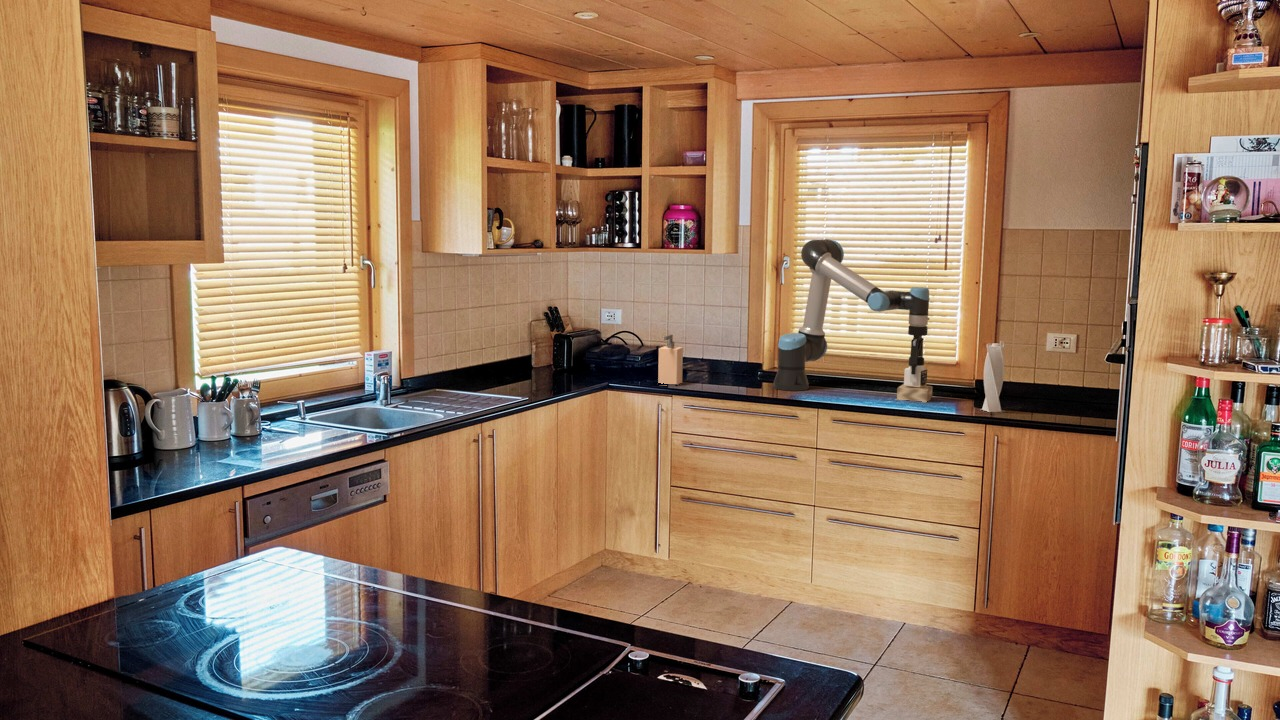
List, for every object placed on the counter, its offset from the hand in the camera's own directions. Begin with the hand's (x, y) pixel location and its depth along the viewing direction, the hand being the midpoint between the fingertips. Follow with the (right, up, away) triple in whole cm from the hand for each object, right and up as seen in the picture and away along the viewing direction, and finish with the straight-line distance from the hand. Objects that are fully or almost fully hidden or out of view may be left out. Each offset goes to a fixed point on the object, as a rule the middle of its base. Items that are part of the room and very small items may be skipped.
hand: (915, 380), depth 411 cm
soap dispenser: (-100, -3, +30) cm, 105 cm away
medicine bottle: (0, -2, 0) cm, 2 cm away
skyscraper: (+23, -12, -25) cm, 36 cm away
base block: (0, -8, +1) cm, 8 cm away
